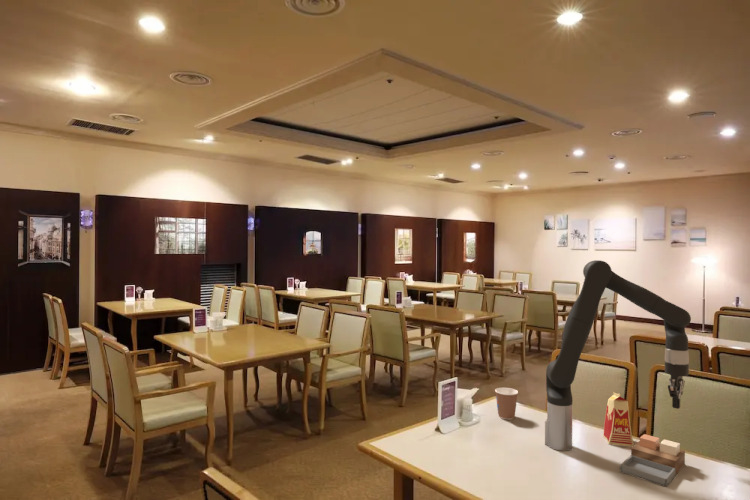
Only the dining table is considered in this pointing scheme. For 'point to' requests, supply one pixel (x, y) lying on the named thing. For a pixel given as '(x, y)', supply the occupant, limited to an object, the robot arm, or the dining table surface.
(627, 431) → the milk carton
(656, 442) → the salmon square block
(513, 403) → the coffee cup
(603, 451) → the dining table surface
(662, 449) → the tile cream
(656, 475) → the tray
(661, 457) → the bronze square platform
